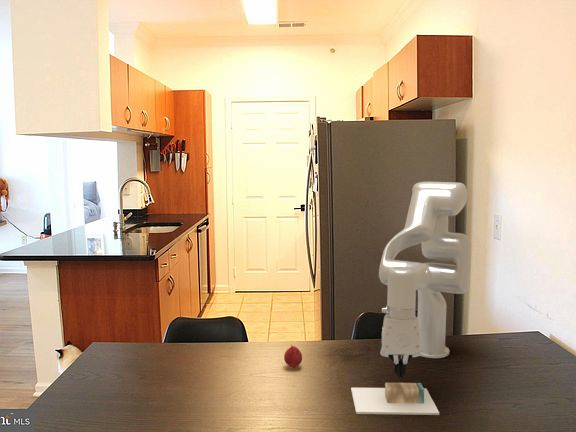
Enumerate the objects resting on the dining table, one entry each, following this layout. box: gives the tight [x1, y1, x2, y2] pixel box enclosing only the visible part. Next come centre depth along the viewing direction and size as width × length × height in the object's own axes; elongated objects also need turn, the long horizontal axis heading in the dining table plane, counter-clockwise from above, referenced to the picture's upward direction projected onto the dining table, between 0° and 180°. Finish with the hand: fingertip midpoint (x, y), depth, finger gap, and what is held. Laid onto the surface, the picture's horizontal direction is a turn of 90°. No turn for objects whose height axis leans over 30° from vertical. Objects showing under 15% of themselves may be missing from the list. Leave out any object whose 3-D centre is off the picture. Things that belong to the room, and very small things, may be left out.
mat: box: [350, 387, 440, 416], centre depth 140 cm, size 22×14×1 cm, turn 89°
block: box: [384, 382, 424, 403], centre depth 140 cm, size 4×4×10 cm
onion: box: [283, 344, 303, 369], centre depth 162 cm, size 6×6×8 cm
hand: (399, 375), depth 139 cm, fingers closed
